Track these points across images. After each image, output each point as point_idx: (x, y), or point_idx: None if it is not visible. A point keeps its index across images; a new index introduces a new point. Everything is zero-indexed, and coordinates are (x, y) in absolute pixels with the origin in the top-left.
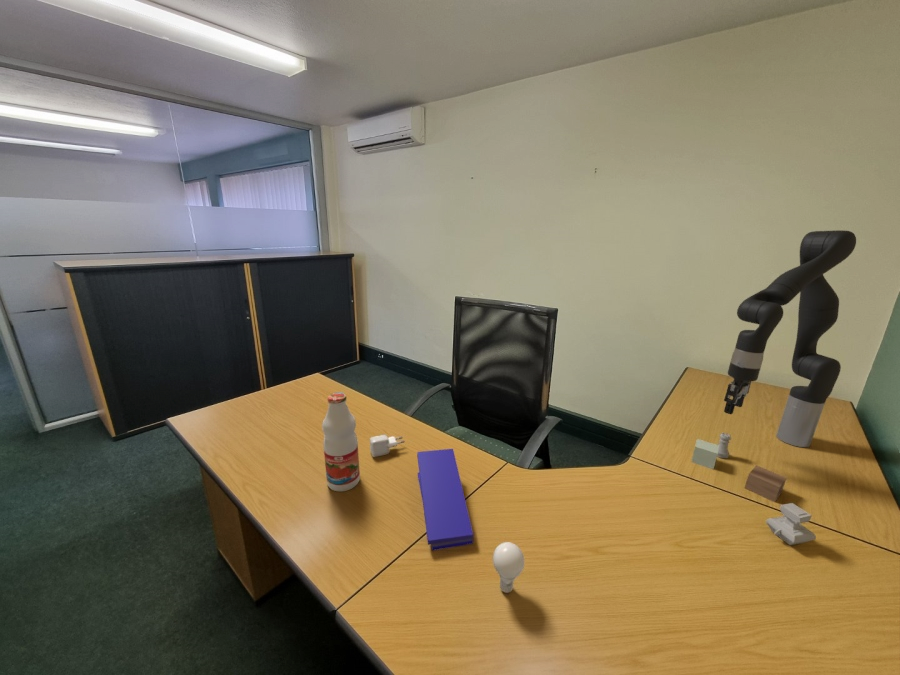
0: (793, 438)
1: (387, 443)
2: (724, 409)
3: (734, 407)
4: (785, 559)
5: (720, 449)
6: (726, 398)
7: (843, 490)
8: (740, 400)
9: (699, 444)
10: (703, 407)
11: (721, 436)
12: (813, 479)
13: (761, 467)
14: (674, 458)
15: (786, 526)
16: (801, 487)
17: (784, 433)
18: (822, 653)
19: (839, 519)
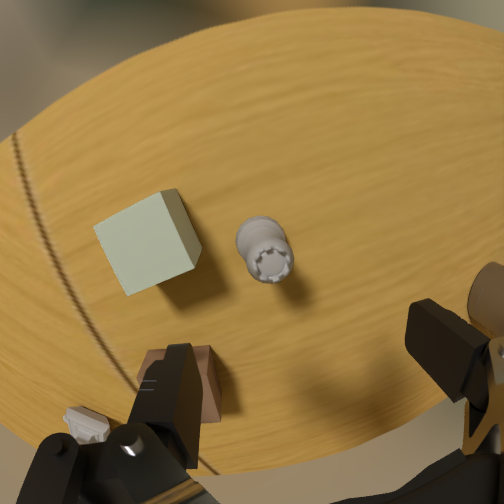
0: (479, 309)
1: None
2: (164, 356)
3: (199, 435)
4: (58, 418)
5: (245, 248)
6: (44, 475)
7: (347, 419)
8: (439, 365)
9: (123, 225)
10: (488, 90)
11: (251, 253)
12: (347, 392)
13: (208, 384)
14: (92, 179)
15: (75, 431)
16: (287, 399)
17: (487, 291)
18: (17, 432)
19: (231, 446)
